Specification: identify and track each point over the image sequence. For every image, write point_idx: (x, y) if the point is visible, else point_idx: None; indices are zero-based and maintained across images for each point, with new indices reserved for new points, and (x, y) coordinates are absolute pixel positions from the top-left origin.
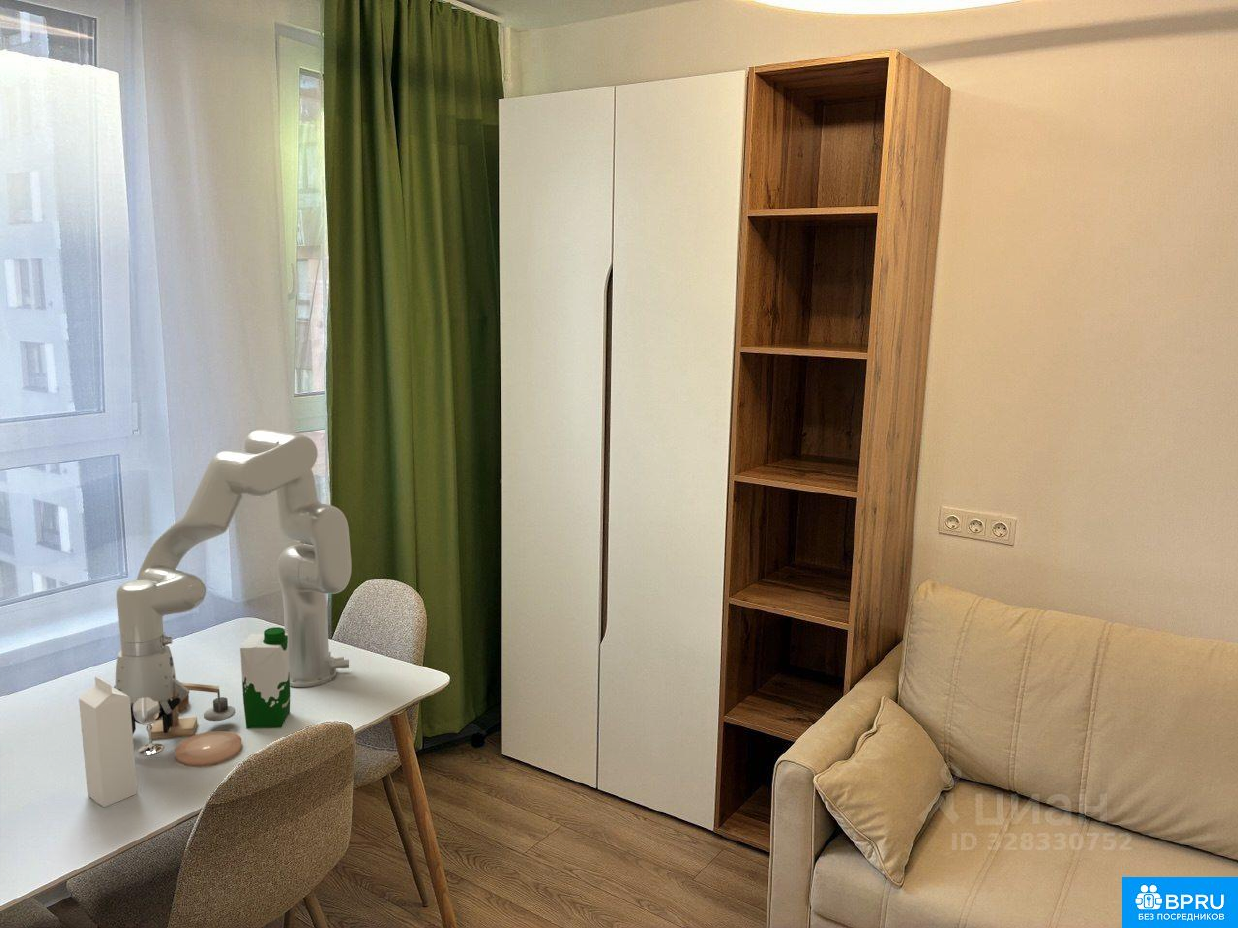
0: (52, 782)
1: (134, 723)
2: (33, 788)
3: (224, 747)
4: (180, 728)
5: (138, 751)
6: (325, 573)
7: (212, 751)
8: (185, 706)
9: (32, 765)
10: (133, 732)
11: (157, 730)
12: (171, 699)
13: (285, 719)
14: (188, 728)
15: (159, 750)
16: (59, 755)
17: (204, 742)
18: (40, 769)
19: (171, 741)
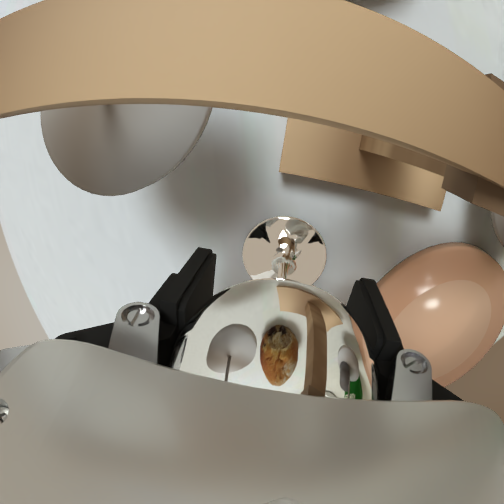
0: (79, 322)
1: (205, 284)
2: (61, 326)
3: (460, 358)
4: (401, 190)
5: (242, 255)
6: None
7: (432, 369)
8: None
9: (21, 228)
10: (211, 294)
11: (311, 167)
12: (428, 397)
13: None
14: (426, 205)
15: (311, 282)
16: (45, 195)
17: (438, 321)
18: (38, 254)
19: (355, 221)
